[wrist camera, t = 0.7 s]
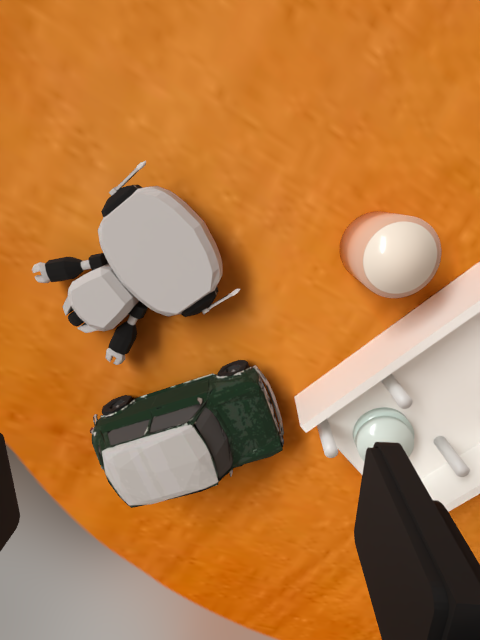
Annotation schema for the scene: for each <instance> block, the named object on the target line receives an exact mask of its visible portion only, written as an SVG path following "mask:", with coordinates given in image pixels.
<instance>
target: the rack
mask: <svg viewBox="0 0 480 640" xmlns="http://www.w3.org/2000/svg"><path fill="white" fill-rule="evenodd" d="M294 398H295V403H296V407H297V412H298V417H299V422H300V427H301V428H302V429H303V430H304V431H305V432H306V433H307V432H308V431H310V430H311V429H312V428H314V427H315V426H317V428H318V432H319V435H320V439H321V442H322V446H323V449H324V453H325V455H326V456H327V457H329V458H333V457H335V456H337V454H338V449H339V450H340V451H341V453H342V454H343V455H344V456H345V457H346V458H347V459H348V460H349V461H350V462H351V463H352V464H353V465H354V467H355V468H356V469H357V470H358V471H359V472H360V473H361V474H362V475H363V468H364V461H363V460H362V459H361V457H360V455H359V453H358V450H357V448H356V445H355V442H354V440H353V428H354V426H355V423H356V422H357V420H358V419H359V418H360V417H361V416H362V415H363V414H365V413H366V412H368V411H370V410H372V409H376V408H382V407H387V408H392V409H396V410H398V411H400V412H401V413H402V414H404V415H405V416H406V418H407V419H408V421H409V422H410V424H411V425H412V427H413V430H414V448H413V451H412V453H411V455H410V456H409V459H410V461H411V463H412V465H413V467H414V468H415V470H416V472H417V474H418V475H419V477H420V479H421V481H422V482H423V484H424V486H425V488H426V489H427V491H428V493H429V495H430V496H431V498H432V500H438V501H439V502H441V503H442V504H443V505H444V506H445V508H446V509H447V511H448V512H449V511H450V510H452V509H454V508H456V507H457V506H459V505H461V504H463V503H464V502H466V501H468V500H469V499H471V498H473V497H475V496H476V495H478V494H480V262H478V263H477V264H476V265H474V266H473V267H471V268H470V269H469V270H467V271H466V272H465V273H463V274H462V275H460V276H459V277H458V278H456V279H455V280H454V281H452V282H451V283H450V284H448V285H447V286H445V287H444V288H443V289H441V290H440V291H439V292H437V293H436V294H434V295H433V296H432V297H430V298H429V299H428V300H426V301H425V302H423V303H422V304H421V305H419V306H418V307H417V308H415V309H414V310H413V311H411V312H410V313H408V314H407V315H406V316H404V317H403V318H402V319H400V320H399V321H397V322H396V323H395V324H393V325H392V326H391V327H389V328H388V329H386V330H385V331H384V332H382V333H381V334H380V335H378V336H377V337H376V338H374V339H373V340H371V341H370V342H369V343H367V344H366V345H365V346H363V347H362V348H360V349H359V350H358V351H356V352H355V353H354V354H352V355H351V356H349V357H348V358H347V359H345V360H344V361H343V362H341V363H340V364H339V365H337V366H336V367H334V368H333V369H332V370H330V371H329V372H328V373H326V374H325V375H323V376H322V377H321V378H319V379H318V380H317V381H315V382H314V383H312V384H311V385H310V386H308V387H307V388H306V389H304V390H303V391H302V392H300V393H299V394H297V395H296V396H295V397H294ZM337 448H338V449H337Z"/></svg>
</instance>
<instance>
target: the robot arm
mask: <svg viewBox="0 0 480 640" xmlns="http://www.w3.org/2000/svg"><path fill="white" fill-rule="evenodd" d="M19 518H20V513H19V508H18V504H17V498H16V493H15V489H14V483H13V479H12V474H11V469H10V465H9V460H8V455H7V450H6V445H5V440H4V437H3V435H2V434H1V433H0V551H1V550H2V548H3V547H4V545H5V544H6V542H7V541H8V540H9V538H10V537H11V535H12V534H13V533H14V531H15V530H16V528H17V525H18V523H19ZM354 537H355V544H356V548H357V552H358V555H359V559H360V562H361V566H362V570H363V573H364V577H365V580H366V584H367V587H368V591H369V594H370V598H371V602H372V605H373V609H374V612H375V616H376V619H377V623H378V626H379V630H380V634H381V637H382V640H480V565H479V563H478V561H477V560H476V558H475V556H474V555H473V553H472V551H471V550H470V548H469V546H468V544H467V543H466V541H465V539H464V538H463V536H462V534H461V533H460V531H459V529H458V528H457V526H456V524H455V523H454V521H453V519H452V518H451V516H450V514H449V513H448V511H447V509H446V508H445V506H444V505H443V504H442V503H441V502H439V501H438V500H432V498H431V496H430V495H429V493H428V491H427V489H426V488H425V486H424V484H423V482H422V481H421V479H420V477H419V475H418V474H417V472H416V470H415V468H414V467H413V465H412V463H411V461H410V459H409V458H408V456H407V454H406V452H405V451H404V449H403V447H402V446H401V444H400V443H394V442H375V444H374V446H373V448H370V447H368V448H367V450H366V455H365V461H364V468H363V475H362V482H361V488H360V495H359V502H358V508H357V515H356V522H355V529H354Z"/></svg>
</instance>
